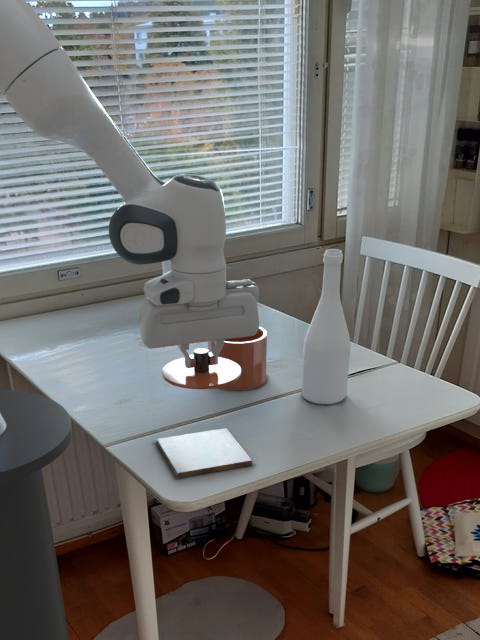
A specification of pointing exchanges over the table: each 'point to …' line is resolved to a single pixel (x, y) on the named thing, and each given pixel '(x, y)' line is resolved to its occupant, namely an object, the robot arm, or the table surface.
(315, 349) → the wine bottle
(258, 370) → the canister
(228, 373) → the canister lid
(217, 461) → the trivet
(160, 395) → the table surface
